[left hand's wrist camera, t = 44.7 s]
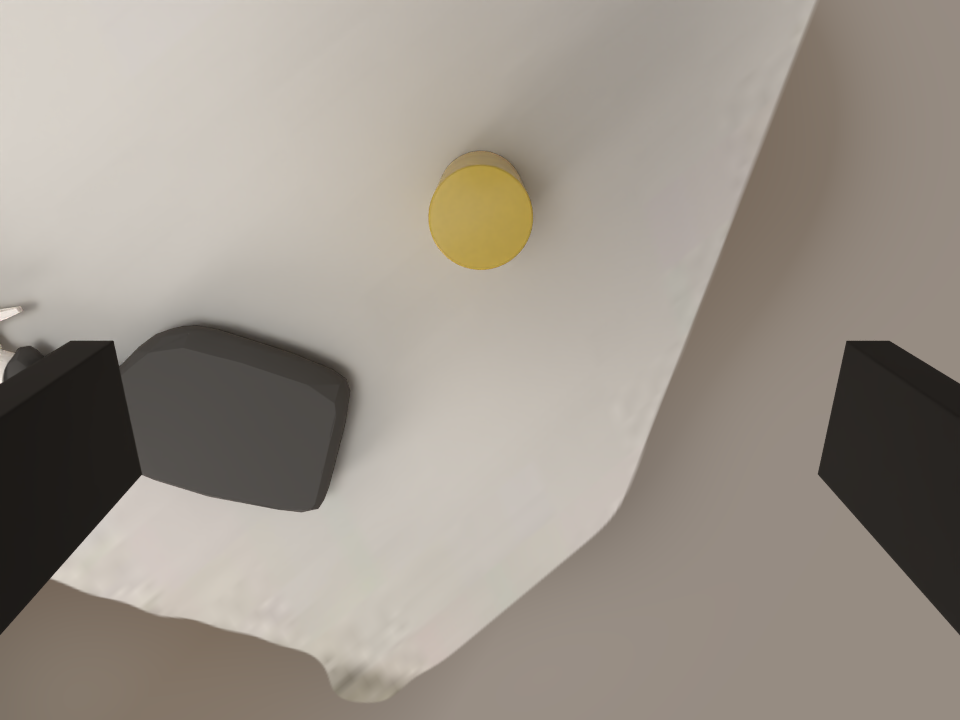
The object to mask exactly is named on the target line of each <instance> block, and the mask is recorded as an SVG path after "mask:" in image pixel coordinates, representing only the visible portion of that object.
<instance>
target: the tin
mask: <svg viewBox="0 0 960 720" xmlns="http://www.w3.org/2000/svg"><path fill="white" fill-rule="evenodd" d="M428 217H429V227H430V231H431V235H432V237H433V240H434V242H435V243H436V245H437V247H438V248H439V249H440V251H441V252H442V253H443V254H444V255H445V256H446V257H447V258H448V259H450V260H451V261H453V262H454V263H456V264H458V265H460V266H463V267H466V268H469V269H476V270H486V269H492V268H496V267H499V266H501V265H504V264H505V263H507V262H509V261H510V260H512V259H513V258H514V257H515V256H516V255H517V254H518V253H520V251H521V250H522V249H523V247H524V246H525V244H526V243H527V241H528V238H529V236H530V233H531V230H532V224H533V210H532V205H531V201H530V198H529V196H528V193H527V191H526V189H525V187H524V185H523V183H522V181H521V178H520V176H519V174H518V173H517V171H516V169H515V168H514V167H513V165H512V164H511V163H510V162H509V161H507V160H506V159H505V158H503V157H501V156H500V155H497V154H495V153H492V152H487V151H474V152H470V153H466V154H464V155H462V156H460V157H458V158H457V159H455V160H454V161H453V162H452V163H451V164H450V165H449V166H448V167H447V168H446V170H445V171H444V173H443V175H442V177H441V179H440V181H439V183H438V186H437V188H436V190H435V192H434V195H433V197H432V200H431V203H430V207H429V215H428Z"/></svg>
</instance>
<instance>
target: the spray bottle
mask: <svg viewBox="0 0 960 720" xmlns="http://www.w3.org/2000/svg"><path fill="white" fill-rule="evenodd" d="M22 311H23V309H22V308H21V306H19V307H12V308H5V309H0V321H2V320H4V319H7V318H9V317H11V316H13V315H15V314H17V313H20V312H22ZM43 357H44V356H43V355H42V354H41V353H40V352H39V351H38V350H36V349H35V348H33V347H31V346H26V347H21V348H19V349H18V350H17V351H16V353H13V352H9V351H5V350H2V346H1V345H0V384H1V383H2V382H4V381H6V380H7V379H9V378H10V377H12V376H14V375H15V374H17V373H19V372H20V371H22V370H24V369H25V368H27V367H29V366H30V365H32V364H33V363H35V362H37V361H38V360H40V359H42V358H43ZM119 369H120V374H121V378H122V383H123V388H124V392H125V397H126V401H127V406H128V411H129V415H130V420H131V425H132V429H133V434H134V439H135V443H136V448H137V453H138V457H139V462H140V466H141V471H142V475H144V476H146V477H149V478H151V479H154V480H156V481H159V482H163V483H166V484H169V485H173V486H176V487H179V488H183V489H186V490H189V491H192V492H196V493H199V494H202V495H206V496H209V497H214V498H219V499H225V500H230V501H235V502H241V503H246V504H251V505H257V506H262V507H267V508H273V509H278V510H286V511H295V512H305V511H310V510H314V509H319V507H320V505H321V504H322V502H323V501H324V499H325V496H326V493H327V491H328V488H329V485H330V481H331V477H332V473H333V469H334V465H335V461H336V458H337V454H338V450H339V446H340V442H341V438H342V434H343V430H344V426H345V422H346V415H347V408H348V402H349V395H350V389H349V386H348V382H347V379H346V378H344V377H343V376H341V375H340V374H338V373H337V372H335V371H334V370H333V369H330V368H328V367H326V366H323V365H321V364H318V363H316V362H313V361H311V360H308V359H306V358H303V357H301V356H298V355H296V354H293V353H290V352H287V351H284V350H281V349H278V348H275V347H272V346H269V345H266V344H263V343H260V342H257V341H254V340H250V339H247V338H244V337H241V336H238V335H234V334H231V333H228V332H225V331H222V330H217V329H212V328H207V327H202V326H197V325H196V326H183V327H177V328H173V329H170V330H167V331H164V332H161V333H158V334H156V335H154V336H153V337H152V338H150V339H149V340H148V341H146V342H145V343H144V344H142V345H141V346H140V347H138V348H137V350H136V351H135V352H134V353H133V354H132V355H131V356H130V357H129V358H128V359H127V360H126V361H125V362H124V363H123V364H122V365H121V366H120V367H119Z"/></svg>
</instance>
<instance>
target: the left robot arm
mask: <svg viewBox="0 0 960 720" xmlns="http://www.w3.org/2000/svg"><path fill="white" fill-rule="evenodd" d="M141 475H142V471H141V466H140V462H139V457H138V453H137V448H136V443H135V439H134V434H133V429H132V425H131V420H130V415H129V411H128V406H127V401H126V397H125V392H124V388H123V383H122V378H121V374H120V369H119V364H118V360H117V355H116V350H115V346H114V341H70V342H68V343H66V344H65V345H63V346H61V347H60V348H58V349H56V350H55V351H53V352H52V353H50V354H48V355H47V356H45V357H43V358H42V359H40V360H38V361H37V362H35V363H33V364H32V365H30V366H29V367H27V368H25V369H24V370H22V371H20V372H19V373H17V374H15V375H14V376H12V377H10V378H9V379H7V380H6V381H4V382H2V383H1V384H0V635H1V633H2V632H3V631H4V630H5V629H6V628H7V627H8V626H9V624H10V623H11V622H12V621H13V620H14V619H15V618H16V616H17V615H18V614H19V613H20V612H21V611H22V610H23V609H24V607H25V606H26V605H27V604H28V603H29V602H30V601H31V599H32V598H33V597H34V596H35V595H36V594H37V593H38V592H39V590H40V589H41V588H42V587H43V586H44V585H45V584H46V582H47V581H48V580H49V579H50V578H51V577H52V576H53V575H54V573H55V572H56V571H57V570H58V569H59V568H60V567H61V566H62V564H63V563H64V562H65V561H66V560H67V559H68V558H69V556H70V555H71V554H72V553H73V552H74V551H75V550H76V549H77V547H78V546H79V545H80V544H81V543H82V542H83V541H84V539H85V538H86V537H87V536H88V535H89V534H90V533H91V532H92V530H93V529H94V528H95V527H96V526H97V525H98V524H99V522H100V521H101V520H102V519H103V518H104V517H105V516H106V515H107V513H108V512H109V511H110V510H111V509H112V508H113V507H114V505H115V504H116V503H117V502H118V501H119V500H120V499H121V498H122V496H123V495H124V494H125V493H126V492H127V491H128V490H129V488H130V487H131V486H132V485H133V484H134V483H135V482H136V481H137V479H138V478H139V477H140V476H141ZM818 475H819V476H820V477H821V478H822V479H823V481H824V482H825V483H826V484H827V485H828V486H829V487H830V488H831V490H832V491H833V492H834V493H835V494H836V495H837V496H838V498H839V499H840V500H841V501H842V502H843V503H844V504H845V505H846V507H847V508H848V509H849V510H850V511H851V512H852V513H853V515H854V516H855V517H856V518H857V519H858V520H859V521H860V522H861V524H862V525H863V526H864V527H865V528H866V529H867V530H868V532H869V533H870V534H871V535H872V536H873V537H874V538H875V539H876V541H877V542H878V543H879V544H880V545H881V546H882V547H883V549H884V550H885V551H886V552H887V553H888V554H889V555H890V556H891V558H892V559H893V560H894V561H895V562H896V563H897V564H898V566H899V567H900V568H901V569H902V570H903V571H904V572H905V573H906V575H907V576H908V577H909V578H910V579H911V580H912V581H913V583H914V584H915V585H916V586H917V587H918V588H919V589H920V590H921V592H922V593H923V594H924V595H925V596H926V597H927V598H928V599H929V601H930V602H931V603H932V604H933V605H934V606H935V607H936V608H937V610H938V611H939V612H940V613H941V614H942V615H943V616H944V618H945V619H946V620H947V621H948V622H949V623H950V624H951V626H952V627H953V628H954V629H955V630H956V631H957V632H958V633H959V635H960V384H959V383H958V382H956V381H954V380H953V379H951V378H949V377H948V376H946V375H945V374H943V373H941V372H940V371H938V370H936V369H935V368H933V367H931V366H930V365H928V364H927V363H925V362H923V361H922V360H920V359H918V358H917V357H915V356H913V355H912V354H910V353H908V352H907V351H905V350H904V349H902V348H900V347H899V346H897V345H895V344H894V343H892V342H890V341H846V346H845V350H844V355H843V360H842V364H841V369H840V374H839V379H838V383H837V388H836V392H835V397H834V401H833V406H832V411H831V415H830V420H829V425H828V429H827V434H826V439H825V443H824V448H823V453H822V457H821V462H820V467H819V471H818Z"/></svg>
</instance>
